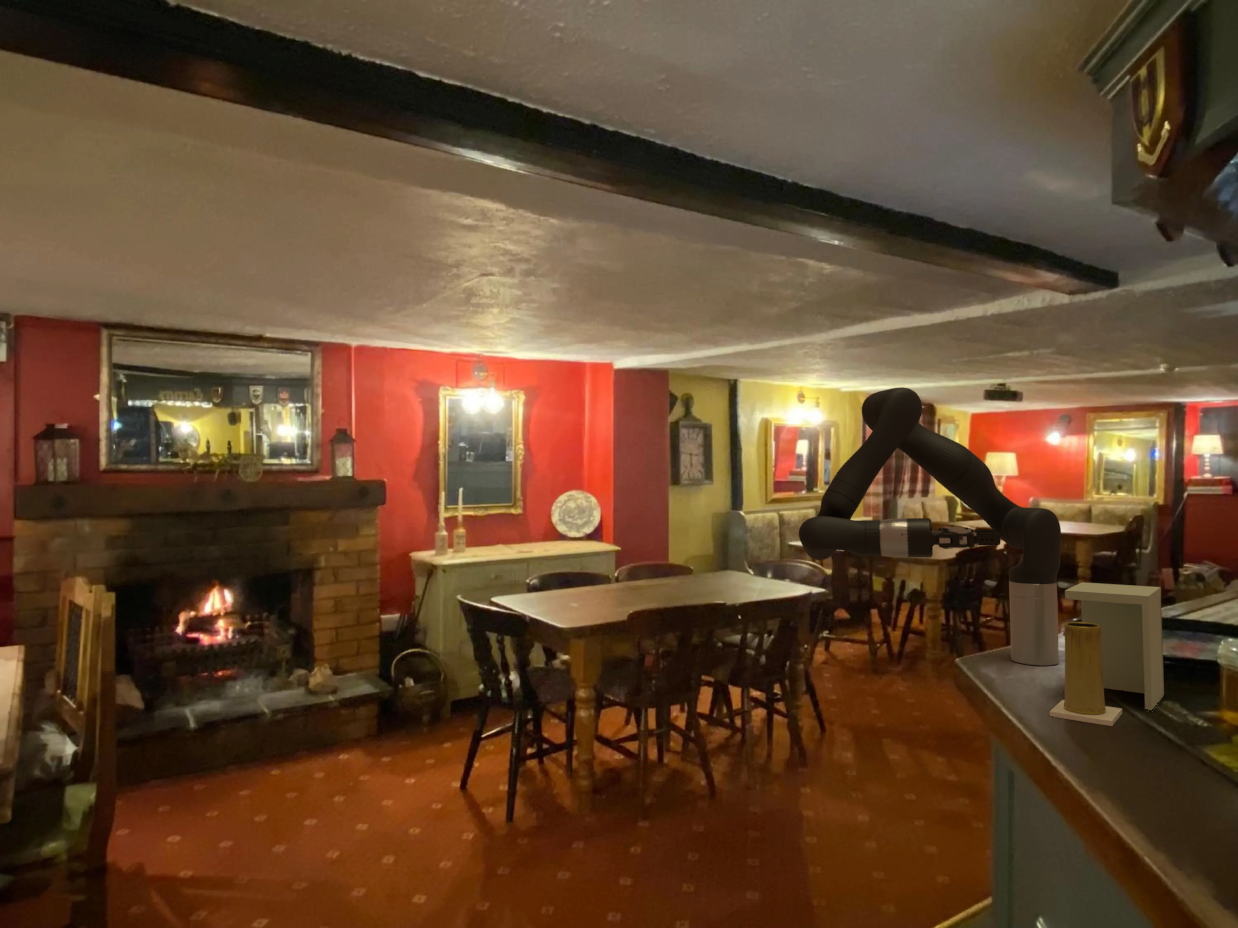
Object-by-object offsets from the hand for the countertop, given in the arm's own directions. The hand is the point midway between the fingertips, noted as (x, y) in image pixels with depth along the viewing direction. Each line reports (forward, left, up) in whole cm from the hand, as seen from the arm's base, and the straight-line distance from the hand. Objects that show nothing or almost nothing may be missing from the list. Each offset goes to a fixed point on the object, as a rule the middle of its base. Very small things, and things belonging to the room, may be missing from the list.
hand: (998, 537), depth 150 cm
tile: (+6, +15, -29) cm, 33 cm away
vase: (+6, +15, -28) cm, 32 cm away
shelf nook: (-10, +17, -29) cm, 35 cm away
